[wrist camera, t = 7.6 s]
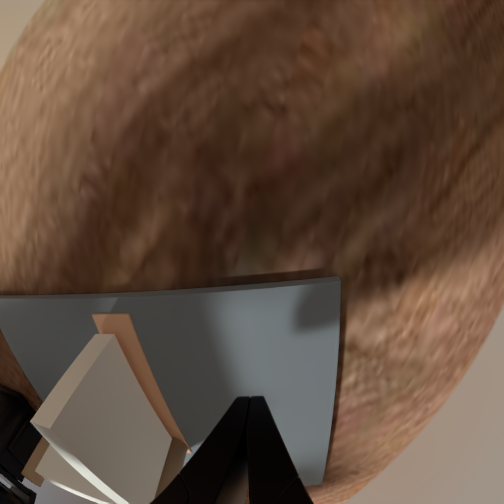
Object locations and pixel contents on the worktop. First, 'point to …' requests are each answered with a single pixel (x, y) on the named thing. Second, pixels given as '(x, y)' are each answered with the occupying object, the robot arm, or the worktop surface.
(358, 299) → the worktop surface
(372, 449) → the worktop surface
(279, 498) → the robot arm
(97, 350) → the fence gate panel
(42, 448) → the fence post and panel
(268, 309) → the card
